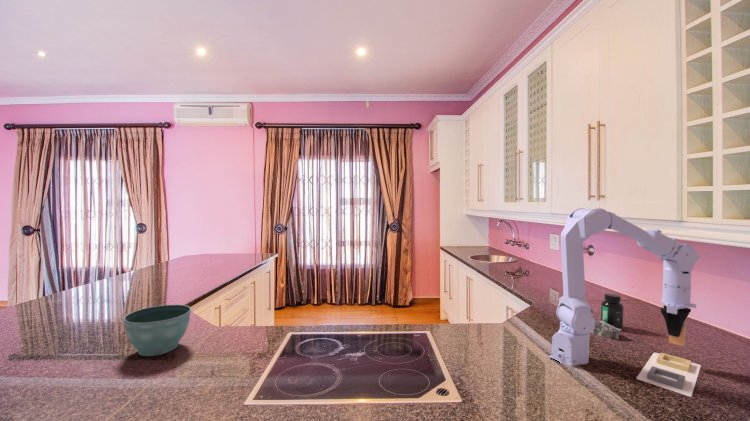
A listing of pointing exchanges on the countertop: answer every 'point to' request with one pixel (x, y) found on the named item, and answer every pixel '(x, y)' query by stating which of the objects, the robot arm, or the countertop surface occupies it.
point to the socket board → (670, 373)
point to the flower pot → (157, 328)
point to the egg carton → (606, 330)
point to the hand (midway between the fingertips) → (674, 334)
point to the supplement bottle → (612, 310)
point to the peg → (681, 338)
